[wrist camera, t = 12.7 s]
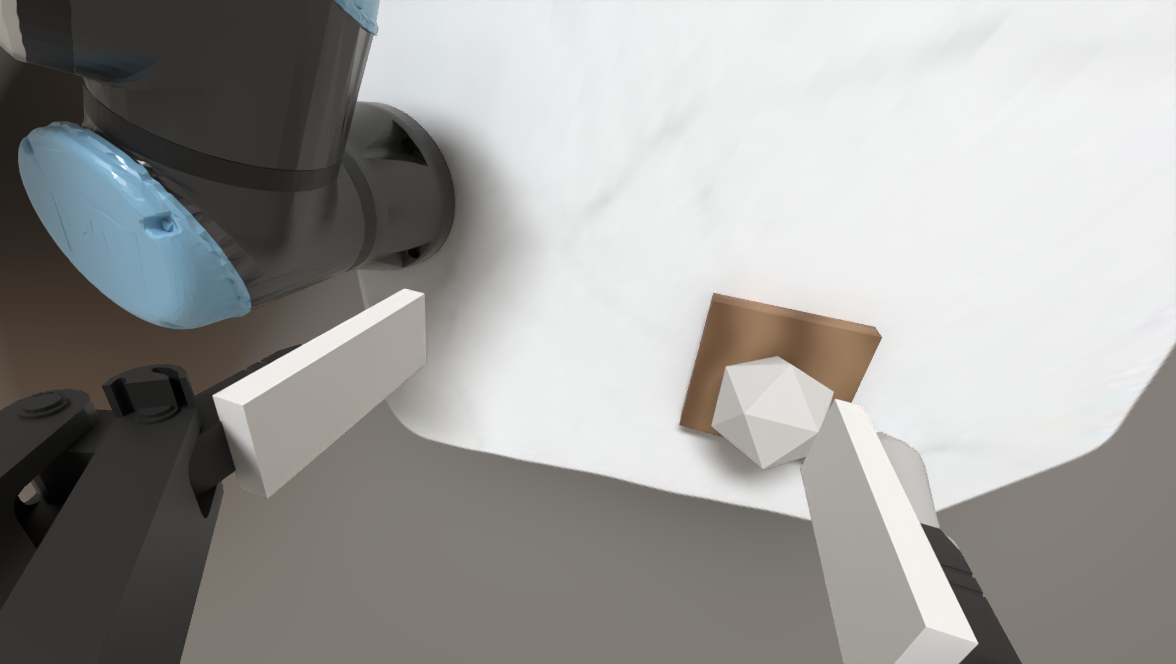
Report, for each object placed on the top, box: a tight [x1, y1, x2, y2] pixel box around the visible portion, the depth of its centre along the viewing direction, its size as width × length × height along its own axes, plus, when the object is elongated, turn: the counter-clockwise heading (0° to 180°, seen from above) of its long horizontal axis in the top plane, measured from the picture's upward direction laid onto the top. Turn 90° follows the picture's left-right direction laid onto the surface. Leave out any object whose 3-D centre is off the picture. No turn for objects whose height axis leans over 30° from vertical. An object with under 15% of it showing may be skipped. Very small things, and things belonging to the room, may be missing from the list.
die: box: [711, 356, 834, 469], centre depth 36 cm, size 8×9×10 cm
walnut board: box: [680, 293, 882, 459], centre depth 40 cm, size 13×13×2 cm
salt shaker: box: [876, 432, 961, 552], centre depth 35 cm, size 6×6×13 cm
